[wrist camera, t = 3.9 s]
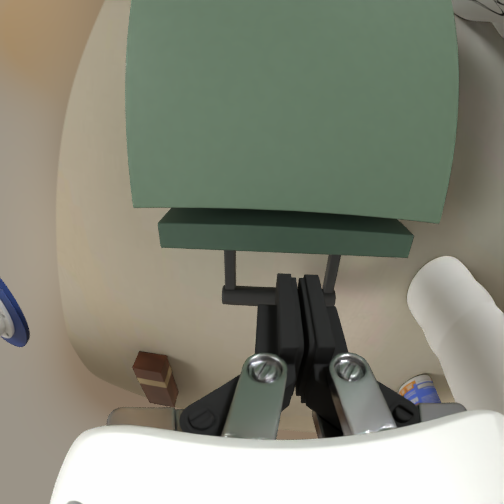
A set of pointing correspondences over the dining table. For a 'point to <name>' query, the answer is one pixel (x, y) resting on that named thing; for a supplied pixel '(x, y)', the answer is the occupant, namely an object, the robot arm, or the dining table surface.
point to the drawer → (281, 241)
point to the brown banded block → (156, 378)
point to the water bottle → (461, 331)
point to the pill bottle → (420, 390)
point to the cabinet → (292, 105)
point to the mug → (481, 11)
